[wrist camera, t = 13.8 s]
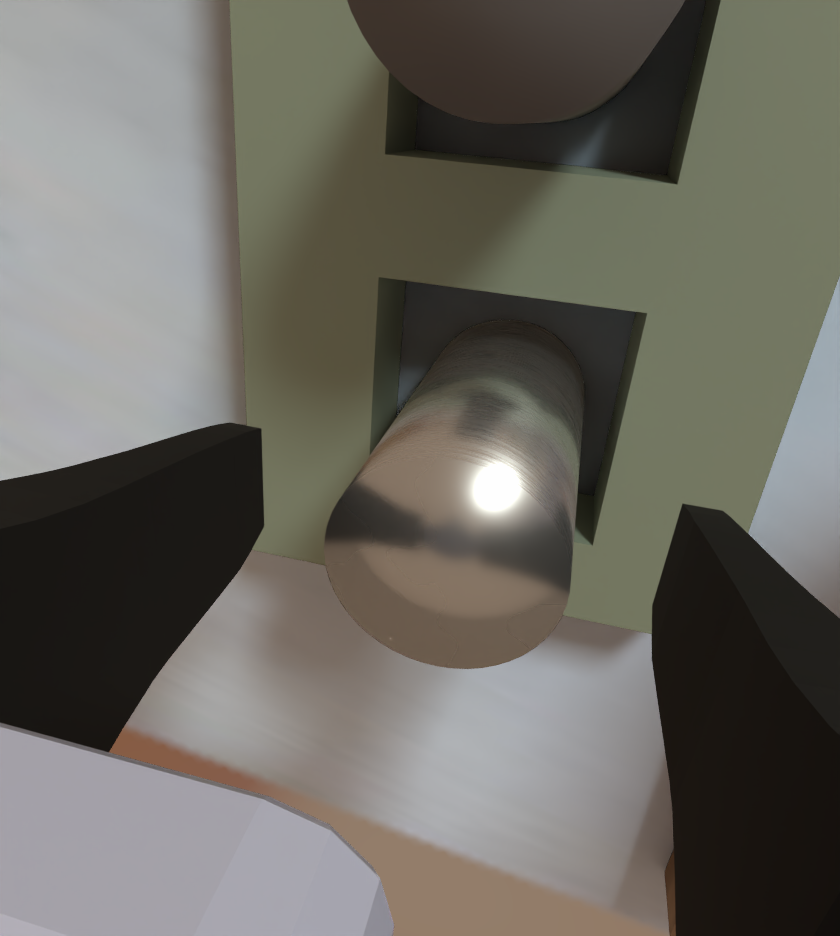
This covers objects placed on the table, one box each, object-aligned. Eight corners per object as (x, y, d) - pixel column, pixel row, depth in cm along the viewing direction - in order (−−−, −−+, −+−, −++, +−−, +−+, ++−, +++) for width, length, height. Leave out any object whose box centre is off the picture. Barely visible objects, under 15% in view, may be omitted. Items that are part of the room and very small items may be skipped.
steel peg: (619, 394, 17) (627, 580, 10) (510, 491, 19) (456, 704, 12) (500, 285, 17) (425, 405, 10) (401, 396, 19) (280, 562, 12)
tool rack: (1001, -346, 11) (1733, -1201, 4) (695, 586, 19) (749, 853, 12) (278, -331, 13) (-111, -871, 6) (287, 505, 21) (133, 695, 14)
